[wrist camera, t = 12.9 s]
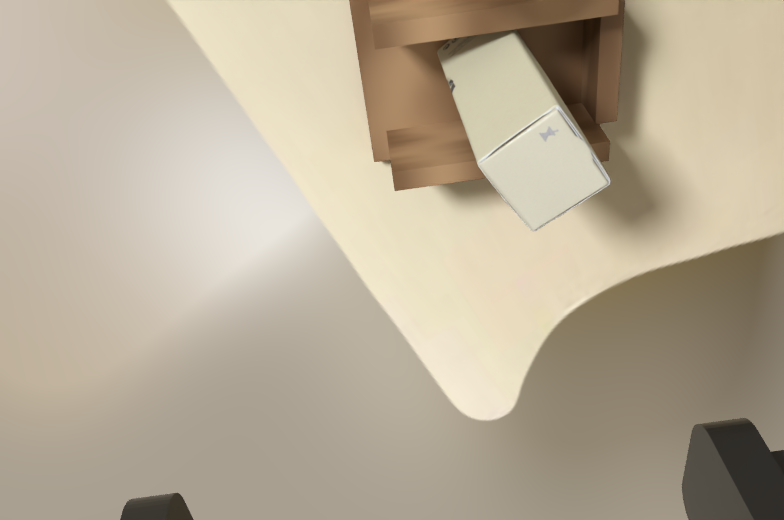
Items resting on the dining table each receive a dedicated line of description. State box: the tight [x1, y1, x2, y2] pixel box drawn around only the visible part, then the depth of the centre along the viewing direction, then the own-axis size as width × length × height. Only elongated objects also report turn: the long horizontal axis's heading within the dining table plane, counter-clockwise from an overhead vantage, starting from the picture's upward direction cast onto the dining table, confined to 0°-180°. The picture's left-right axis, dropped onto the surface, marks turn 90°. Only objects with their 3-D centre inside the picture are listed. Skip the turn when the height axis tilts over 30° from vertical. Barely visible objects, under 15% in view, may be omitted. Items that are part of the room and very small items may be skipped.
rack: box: [349, 0, 625, 191], centre depth 41 cm, size 14×11×6 cm
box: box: [437, 29, 611, 231], centre depth 37 cm, size 5×4×13 cm
